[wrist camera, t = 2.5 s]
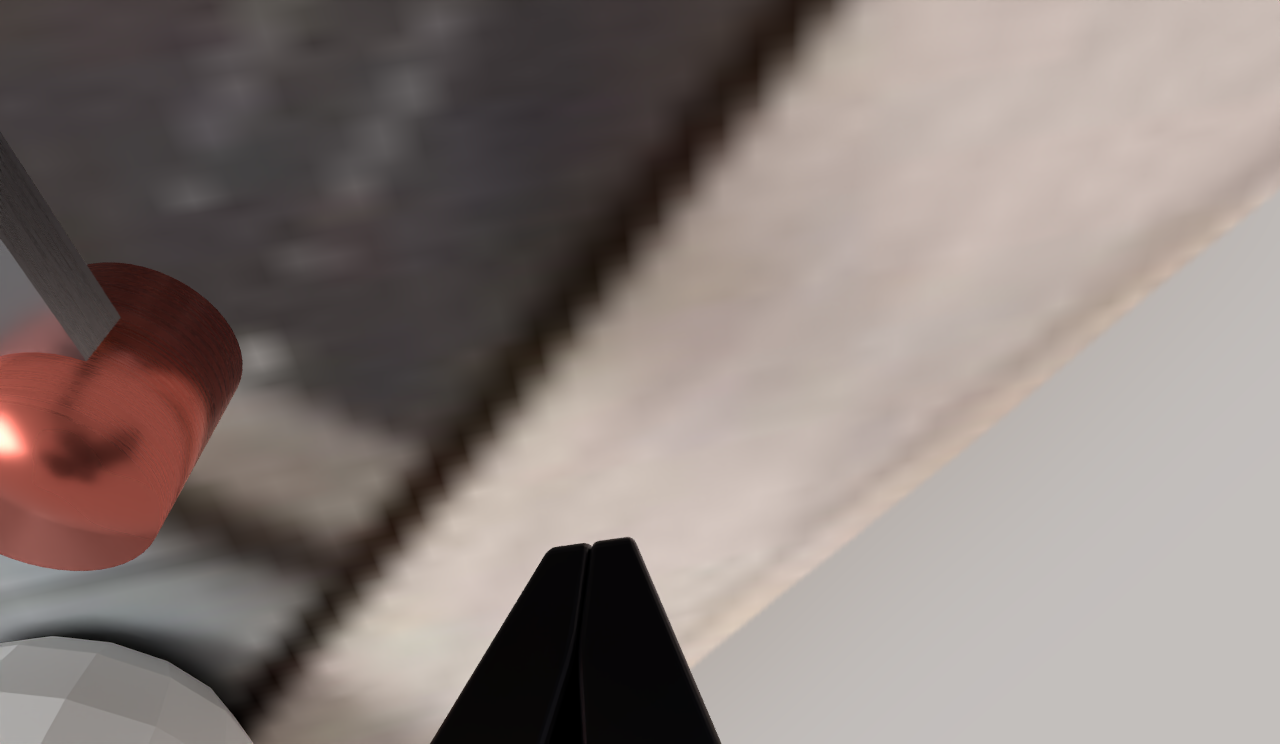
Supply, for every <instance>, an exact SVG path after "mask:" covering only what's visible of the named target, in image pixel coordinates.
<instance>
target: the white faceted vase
mask: <svg viewBox="0 0 1280 744" xmlns="http://www.w3.org/2000/svg"><path fill="white" fill-rule="evenodd" d="M0 744H254V743H253V742H252V741H251V739H250V738H249V736H248V735H247V734H246V732H245V731H244V729H243V728H242V726H241V725H240V724H239V722H238V721H237V719H236V718H235V717H234V716H233V714H232V713H231V712H230V711H229V709H228V708H227V707H226V706H225V705H224V703H223V702H222V701H221V700H220V698H219V697H218V696H217V695H216V694H215V692H214V691H213V690H212V689H211V688H210V687H209V686H207V685H205V684H204V683H202V682H201V681H199V680H197V679H196V678H194V677H192V676H191V675H189V674H188V673H186V672H184V671H183V670H181V669H179V668H178V667H176V666H175V665H173V664H171V663H170V662H168V661H166V660H163V659H160V658H157V657H154V656H151V655H148V654H145V653H142V652H139V651H136V650H133V649H130V648H127V647H124V646H121V645H118V644H115V643H111V642H102V641H93V640H85V639H76V638H67V637H58V636H49V637H41V638H34V639H26V640H19V641H12V642H4V643H0Z"/></svg>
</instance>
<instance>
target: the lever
mask: <svg viewBox="0 0 1280 744" xmlns="http://www.w3.org/2000/svg"><path fill="white" fill-rule="evenodd" d="M241 375H242V355H241V350H240V347H239V344H238V341H237V339H236V337H235V335H234V333H233V330H232V329H231V327H230V326H229V324H228V323H227V321H226V320H225V319H224V317H223V316H222V315H221V314H220V313H219V311H218V310H217V309H216V308H215V307H214V306H213V305H212V304H211V303H210V302H209V301H207V300H206V299H205V298H204V297H202V296H201V295H200V294H199V293H197V292H196V291H194V290H193V289H191V288H190V287H188V286H187V285H185V284H184V283H182V282H180V281H178V280H176V279H174V278H172V277H170V276H168V275H165V274H163V273H160V272H158V271H155V270H152V269H148V268H145V267H141V266H136V265H132V264H124V263H95V264H88V265H87V264H86V263H85V261H84V260H83V258H82V257H81V255H80V254H79V252H78V251H77V249H76V247H75V246H74V244H73V243H72V241H71V240H70V238H69V237H68V235H67V234H66V232H65V231H64V229H63V227H62V226H61V224H60V223H59V221H58V220H57V218H56V217H55V215H54V214H53V212H52V210H51V209H50V207H49V206H48V204H47V203H46V201H45V200H44V198H43V197H42V195H41V194H40V192H39V190H38V189H37V187H36V186H35V184H34V183H33V181H32V180H31V178H30V177H29V175H28V174H27V172H26V170H25V169H24V167H23V166H22V164H21V163H20V161H19V160H18V158H17V157H16V155H15V154H14V152H13V150H12V149H11V147H10V146H9V144H8V143H7V141H6V140H5V138H4V137H3V135H2V133H1V132H0V554H1V555H4V556H7V557H9V558H12V559H15V560H18V561H21V562H24V563H28V564H32V565H36V566H40V567H45V568H52V569H58V570H70V571H90V570H101V569H106V568H111V567H115V566H118V565H121V564H124V563H126V562H128V561H130V560H133V559H135V558H136V557H138V556H139V555H140V554H142V553H143V552H144V551H145V550H146V549H147V548H148V547H149V546H150V545H151V544H152V542H153V541H154V539H155V537H156V536H157V534H158V532H159V530H160V528H161V527H162V525H163V523H164V521H165V519H166V517H167V516H168V514H169V512H170V510H171V508H172V506H173V505H174V503H175V501H176V499H177V497H178V495H179V494H180V492H181V490H182V488H183V486H184V484H185V483H186V481H187V479H188V477H189V475H190V473H191V472H192V470H193V468H194V466H195V464H196V463H197V461H198V459H199V457H200V455H201V453H202V452H203V450H204V448H205V446H206V444H207V442H208V441H209V439H210V437H211V435H212V433H213V431H214V430H215V428H216V426H217V424H218V422H219V420H220V419H221V417H222V415H223V413H224V411H225V409H226V408H227V406H228V404H229V402H230V400H231V399H232V397H233V395H234V393H235V391H236V389H237V387H238V385H239V382H240V380H241Z"/></svg>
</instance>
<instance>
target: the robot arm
mask: <svg viewBox="0 0 1280 744" xmlns="http://www.w3.org/2000/svg"><path fill="white" fill-rule="evenodd" d="M430 744H721V742H720V739H719V737H718V735H717V732H716V730H715V728H714V725H713V723H712V720H711V718H710V716H709V714H708V711H707V709H706V707H705V704H704V702H703V699H702V697H701V695H700V692H699V690H698V688H697V685H696V683H695V681H694V678H693V676H692V674H691V671H690V669H689V666H688V664H687V662H686V659H685V657H684V655H683V652H682V650H681V648H680V645H679V643H678V641H677V638H676V636H675V634H674V631H673V629H672V626H671V624H670V622H669V619H668V617H667V615H666V612H665V610H664V608H663V605H662V603H661V601H660V598H659V596H658V594H657V591H656V589H655V587H654V584H653V582H652V579H651V577H650V575H649V572H648V570H647V568H646V565H645V563H644V561H643V558H642V556H641V554H640V551H639V549H638V547H637V544H636V542H635V541H634V540H633V539H632V538H630V537H624V538H617V539H610V540H603V541H598V542H596V543H594V544H593V546H591V545H589V544H586V543H581V544H574V545H566V546H559V547H554V548H552V549H550V550H549V551H548V552H547V553H546V554H545V556H544V557H543V559H542V561H541V562H540V564H539V566H538V567H537V569H536V571H535V572H534V574H533V575H532V577H531V579H530V580H529V582H528V584H527V585H526V587H525V589H524V590H523V592H522V594H521V595H520V597H519V599H518V600H517V602H516V603H515V605H514V607H513V608H512V610H511V612H510V613H509V615H508V617H507V618H506V620H505V622H504V623H503V625H502V626H501V628H500V630H499V631H498V633H497V635H496V636H495V638H494V640H493V641H492V643H491V645H490V646H489V648H488V649H487V651H486V653H485V654H484V656H483V658H482V659H481V661H480V663H479V664H478V666H477V668H476V669H475V671H474V672H473V674H472V676H471V677H470V679H469V681H468V682H467V684H466V686H465V687H464V689H463V691H462V692H461V694H460V696H459V697H458V699H457V700H456V702H455V704H454V705H453V707H452V709H451V710H450V712H449V714H448V715H447V717H446V719H445V720H444V722H443V723H442V725H441V727H440V728H439V730H438V732H437V733H436V735H435V737H434V738H433V740H432V742H431V743H430Z"/></svg>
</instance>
